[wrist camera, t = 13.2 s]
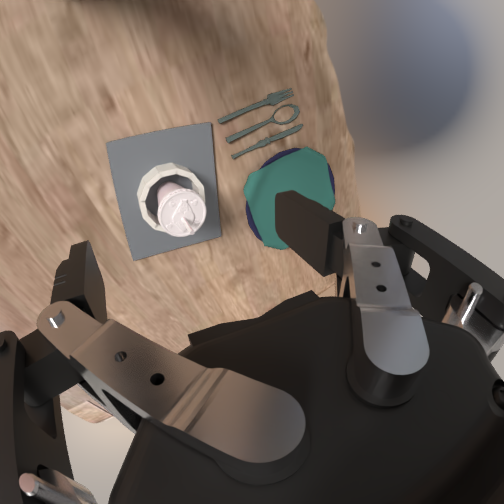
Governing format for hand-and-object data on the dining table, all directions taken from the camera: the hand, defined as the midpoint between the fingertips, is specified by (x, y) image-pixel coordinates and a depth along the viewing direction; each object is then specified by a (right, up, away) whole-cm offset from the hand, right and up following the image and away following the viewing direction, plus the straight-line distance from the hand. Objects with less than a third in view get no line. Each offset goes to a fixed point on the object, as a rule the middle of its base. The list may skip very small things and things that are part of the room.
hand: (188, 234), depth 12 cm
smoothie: (-10, +9, +33) cm, 35 cm away
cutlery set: (+8, +14, +41) cm, 44 cm away
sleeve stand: (-11, +9, +33) cm, 36 cm away
